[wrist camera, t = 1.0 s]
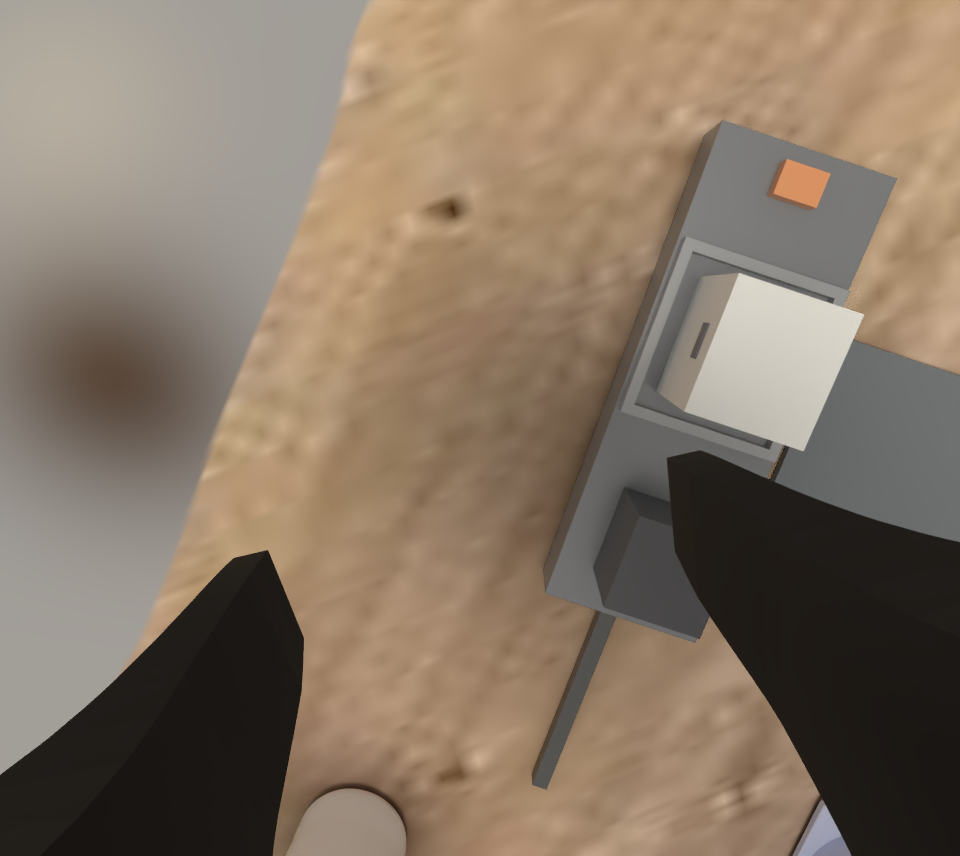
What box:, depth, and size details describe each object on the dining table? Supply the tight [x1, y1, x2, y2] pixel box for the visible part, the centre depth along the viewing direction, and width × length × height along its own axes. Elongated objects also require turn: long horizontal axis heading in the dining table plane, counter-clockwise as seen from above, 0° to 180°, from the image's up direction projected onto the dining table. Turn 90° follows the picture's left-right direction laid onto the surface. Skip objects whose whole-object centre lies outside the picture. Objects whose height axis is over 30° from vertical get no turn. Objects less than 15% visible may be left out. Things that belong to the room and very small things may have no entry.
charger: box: [656, 273, 864, 451], centre depth 23 cm, size 4×4×4 cm
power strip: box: [532, 120, 897, 790], centre depth 26 cm, size 6×29×6 cm, turn 162°
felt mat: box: [771, 340, 960, 542], centre depth 28 cm, size 9×9×1 cm
